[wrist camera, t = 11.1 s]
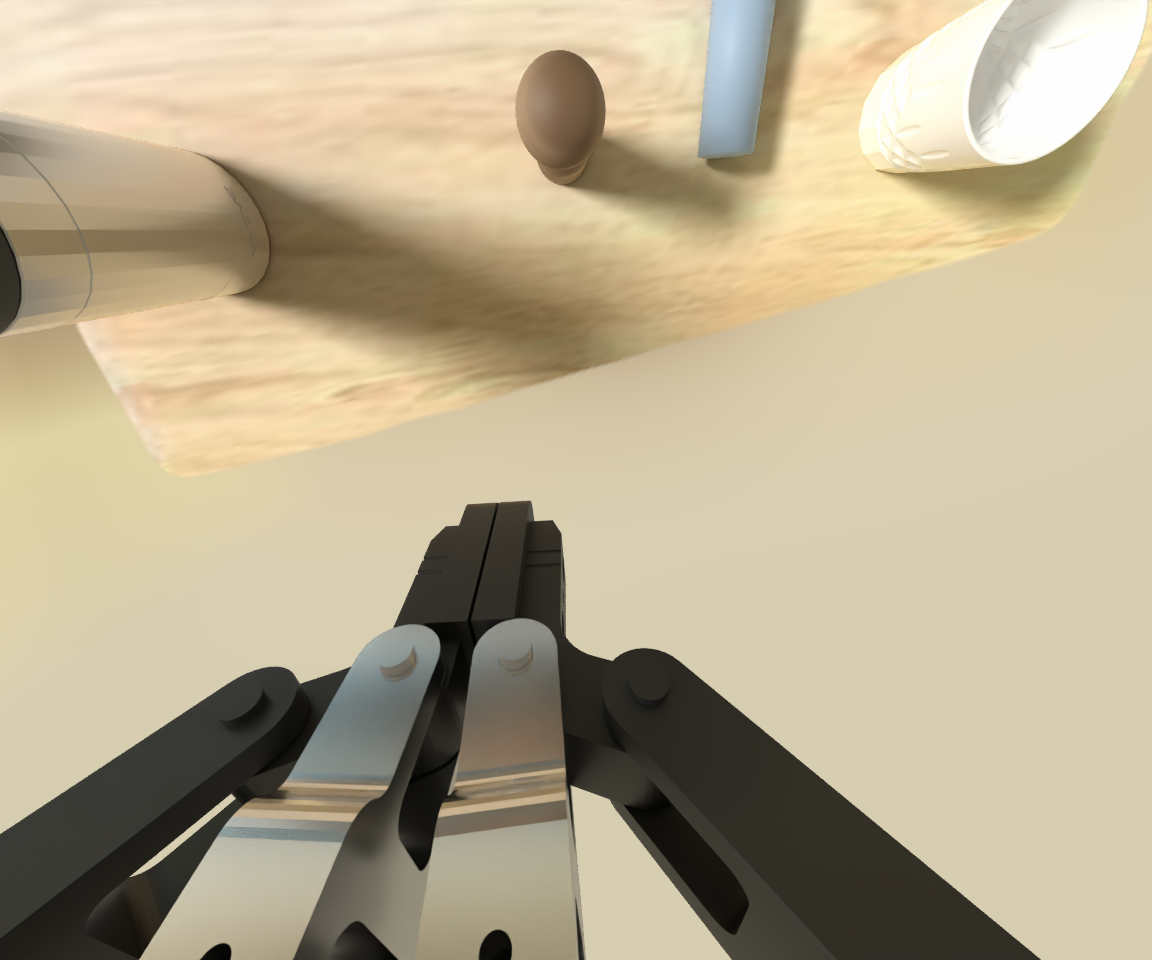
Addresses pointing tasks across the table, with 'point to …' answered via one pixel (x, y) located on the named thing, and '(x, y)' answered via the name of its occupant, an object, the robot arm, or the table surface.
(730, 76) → the blue pin
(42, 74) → the table surface
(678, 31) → the table surface
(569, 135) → the walnut pin
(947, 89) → the white cup
